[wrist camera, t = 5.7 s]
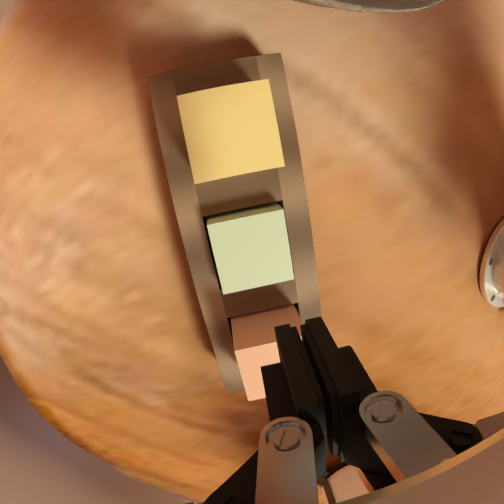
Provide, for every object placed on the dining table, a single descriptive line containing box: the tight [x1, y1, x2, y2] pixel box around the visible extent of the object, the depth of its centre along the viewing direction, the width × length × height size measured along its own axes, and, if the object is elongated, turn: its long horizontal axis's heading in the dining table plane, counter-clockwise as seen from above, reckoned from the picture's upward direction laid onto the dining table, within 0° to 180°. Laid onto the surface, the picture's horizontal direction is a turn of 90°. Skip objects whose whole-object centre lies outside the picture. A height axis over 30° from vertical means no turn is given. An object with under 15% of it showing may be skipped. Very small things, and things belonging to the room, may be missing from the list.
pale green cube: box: [207, 202, 294, 295], centre depth 24 cm, size 5×5×5 cm
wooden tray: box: [147, 53, 321, 393], centre depth 25 cm, size 26×9×4 cm, turn 11°
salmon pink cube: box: [231, 304, 303, 401], centre depth 24 cm, size 5×5×5 cm
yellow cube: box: [177, 79, 285, 184], centre depth 19 cm, size 5×5×5 cm
